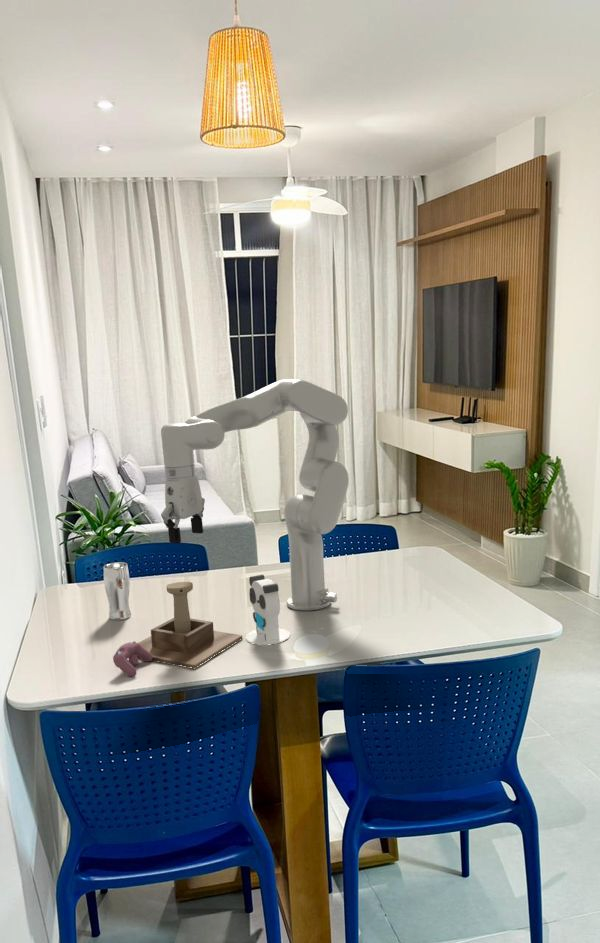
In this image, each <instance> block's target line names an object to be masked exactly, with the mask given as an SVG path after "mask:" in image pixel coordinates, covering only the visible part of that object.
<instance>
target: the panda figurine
mask: <svg viewBox="0 0 600 943" xmlns="http://www.w3.org/2000/svg"><path fill="white" fill-rule="evenodd" d="M248 583H249V585H250V588H249V600H250V603H251V605H252V609H253V611H254V612H252V618H253V621H254V623H255V627H256V629H254V630H251V631H249V632H248V633H247V634H246V635H245V640H247V641H249V642H250V644H251V643H254V644H258V645H257V646H269V645H268V644H275V643H279V642H282V641H285V640H286V639H288V638H289V637H291V633H290V631H289V630H287V629H284V628H282V627H281V628H280V627H279V615H280V613H281V611H280V610H281V603H280V594H279V585H278V583H275V582H274V581H273V580H271V579H270V578H265V575H264V574H258V575H254V576H253V575H252V576H249V580H248ZM289 639H290V638H289ZM289 639H288V640H289ZM247 641H246V642H247ZM286 641H287V640H286ZM286 641H285V642H286ZM249 642H248V643H249ZM282 643H283V642H282ZM254 644H253V645H254ZM259 644H260V645H259ZM279 644H280V643H279ZM275 645H276V644H275Z"/></svg>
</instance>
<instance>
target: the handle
mask: <svg viewBox="0 0 600 943" xmlns="http://www.w3.org/2000/svg"><path fill="white" fill-rule="evenodd" d="M193 585H194V584H193V582H192V581H178V582H173V583H169V584H166V592H167V593H168V594H170V595H172V596H173V618H174V626H175V632H178V633H184V634H187V633H189V632H191V623H190V618H191V616H190V615H191V614H190V608H189V600H188V593H190V592H191V591H192V590H194V589H193V588H194V586H193Z"/></svg>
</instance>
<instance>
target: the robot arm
mask: <svg viewBox="0 0 600 943" xmlns="http://www.w3.org/2000/svg"><path fill="white" fill-rule="evenodd" d="M289 411H290V412H299V415H300V417H301V419H302V421H303V422H304V424H305V425H306V428H307V431H308V443H307V447H306V450H305V454H304V457H303V459H302V464H301V468H300V471H299V477H298V480H299V484H300V485H301V486H302V487H303V489H305V490H307V491H310V492H313V493H314V495H313V496H312V495H308V494H295V495H293V496H292V497H290V498H289V499H288V500H287V502H286V504H285V505H284V512H283V513H284V522H285V525H286V529H287V536H288V546H289V548H288V549H289V565H290V584H291V596H290V597H289V598H287V599H286V605H287V607H288V608H290V609H293V610H295V611H296V610H297V611H306V612H307V611H315V610H321V609H324V608H327V607H328V606H329V605H331V603H336V602H337V601H338V596H337V593H334V592H330V591H329V587H326V586H325V585H326V583H325V567H324V566H325V564H324V562H325V561H324V543H323V542H324V541H323V537H322V535H326V534H328V533H331V531H333V529H335V527H336V526H337V524H338V521H339V518H340V516H341V513H342V509H343V506H344V502H345V498H346V495H347V493H348V492H347V491H348V488H349V478H350V477H349V473H348V470H347V468H346V467H345V465H343V464H342V463H341V462H339V461H338V460H337V461H336V457H337V454H338V449H339V442H340V438H339V433H338V432H339V431H338V429H337V426H339V425H341V424H342V423H343V422H345V421H346V419H347V417H348V413H349V407H348V404H347V402H346V400H345V399H344V398H343V397H342V396H341V395H338V394H337V393H335V392H332V391H329V390H328V389H326V388H324V387H322V386H318V385H316V384H314V383H312V382H311V381H310V382H309V381H307V380H304V379H298V378H297V379H295V378H294V379H293V378H285V379H280V380H277V381H275V382H272V383H270V384H268V385H266V386H263V387H262V388H260V389H258V390H256V391H253V392H252V393H250V394H246V395H245V396H243V397H239V398H236V399H233V400H231V401H229V402H226V403H223V404H220V405H217V406H214V407H212V408H209V409H207V410H205V411H202V412H200V413H198V414H196V415H194V416H192V417H190V418H189V419H187V420H186V421H185V422H173V423H167V424H165V425H162V427H161V428H160V436H161V444H162V445H161V446H162V448H161V449H162V455H163V457H162V458H163V465H164V466H163V467H164V475H165V487H164V489H165V490H164V500H165V502H164V503H165V508H164V509H163V511H162V512H161V513H160V516H161V519H162V521H163V524H164V525H165V527H166V528H167V530H168V540H169V543H170V544H178V545H179V544H181V543H182V537H181V528H180V527H179V525H180V522H181V520H185V519H188V518H190V517H191V518H190V526H191V533H193V534H203V533H204V527H203V517H204V514H203V513H204V510H205V507H204V506H205V502H206V500H205V498H203V497H202V491H201V490H202V489H201V485H200V481H199V478H198V475H197V474H196V468H195V465H196V464H195V455H194V451H195V450H206V451H207V450H213V449H216V448H218V447H219V446H221V445H222V443H223V442H224V440H225V436H226V435H225V434H226V433H228V432H232V431H238V430H248V429H251V428H256V427H258V426H260V425H262V424H264V423H266V422H268V421H270V420H273V419H274V418H276V417H278V416H280V415H283V414H285V413H287V412H289ZM173 520H174V521H173Z"/></svg>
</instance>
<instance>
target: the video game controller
mask: <svg viewBox="0 0 600 943" xmlns="http://www.w3.org/2000/svg"><path fill="white" fill-rule="evenodd" d="M138 657H139V658H138ZM139 659H140V660H142V661H144V662H148V661H151V662H152V655H151V654H150V653H149V652H148V651H147V650H146V649H144V648H143V647H142V646H141V645H140V644H139V642H136V641H135V640H133V641H130V642H127V643H123V644H122V645H120V646H119V648H117V650H116V652H115V653H114V654H113V656H112V662H113V663H114V665H115V667H116V668H117V669H118V668H119V669H120V670H121V671H122V672H123V673H124V674H125V675H127V676H129V677H136V676H137V670H136V668H135V667H134V666H136V665H138V664H139ZM133 665H134V666H133Z"/></svg>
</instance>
